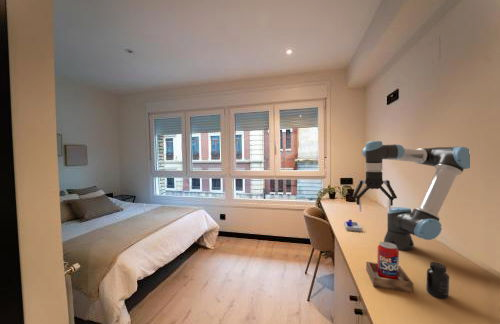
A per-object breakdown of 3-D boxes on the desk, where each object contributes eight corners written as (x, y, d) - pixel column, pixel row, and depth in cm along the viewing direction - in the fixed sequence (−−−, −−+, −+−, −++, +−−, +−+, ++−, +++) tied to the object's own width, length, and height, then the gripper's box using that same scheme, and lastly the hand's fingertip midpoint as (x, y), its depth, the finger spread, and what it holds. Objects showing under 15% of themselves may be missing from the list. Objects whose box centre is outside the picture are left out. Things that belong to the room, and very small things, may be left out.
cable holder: (351, 228, 159) (352, 223, 158) (346, 227, 161) (346, 222, 161) (353, 225, 165) (353, 220, 165) (348, 224, 167) (349, 219, 167)
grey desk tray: (357, 225, 166) (357, 222, 166) (361, 232, 153) (361, 228, 153) (343, 224, 169) (344, 221, 169) (346, 230, 156) (346, 226, 156)
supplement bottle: (421, 289, 89) (422, 260, 88) (436, 288, 89) (437, 259, 89) (437, 300, 82) (438, 269, 81) (453, 299, 82) (454, 268, 82)
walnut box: (399, 274, 100) (399, 265, 99) (412, 293, 86) (413, 283, 86) (366, 269, 104) (366, 261, 104) (373, 286, 90) (373, 277, 90)
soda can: (388, 272, 99) (388, 240, 99) (402, 282, 92) (403, 247, 91) (373, 274, 98) (373, 241, 97) (386, 284, 90) (387, 249, 90)
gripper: (398, 170, 112) (398, 210, 113) (346, 170, 118) (347, 208, 119) (404, 171, 104) (404, 214, 105) (349, 171, 111) (349, 212, 112)
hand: (374, 211), depth 112 cm, fingers open, 13 cm apart
